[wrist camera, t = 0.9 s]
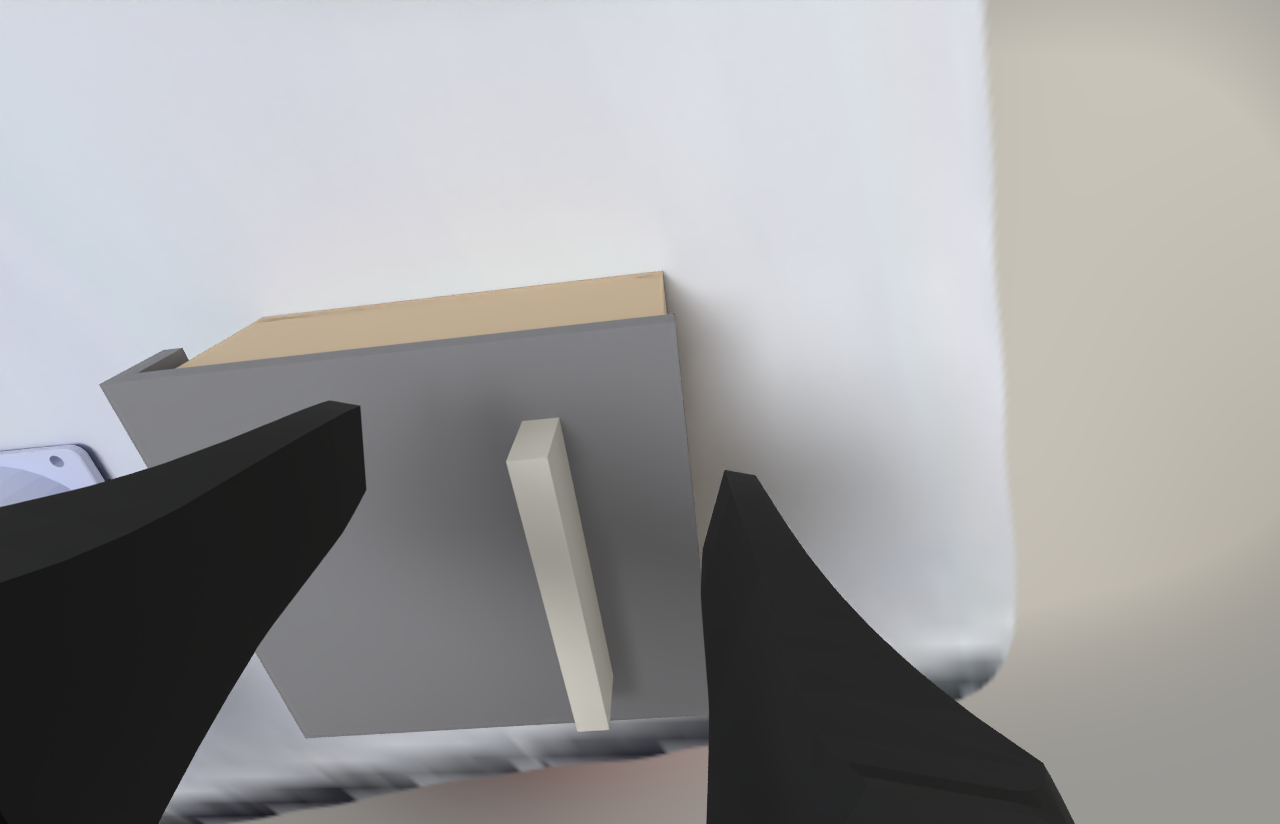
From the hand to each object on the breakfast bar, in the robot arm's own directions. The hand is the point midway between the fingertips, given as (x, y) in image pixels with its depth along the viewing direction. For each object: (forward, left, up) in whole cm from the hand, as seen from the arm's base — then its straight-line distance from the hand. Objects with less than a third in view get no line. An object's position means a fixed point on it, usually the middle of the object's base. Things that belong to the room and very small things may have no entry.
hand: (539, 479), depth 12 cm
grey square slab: (-5, -6, -7) cm, 10 cm away
